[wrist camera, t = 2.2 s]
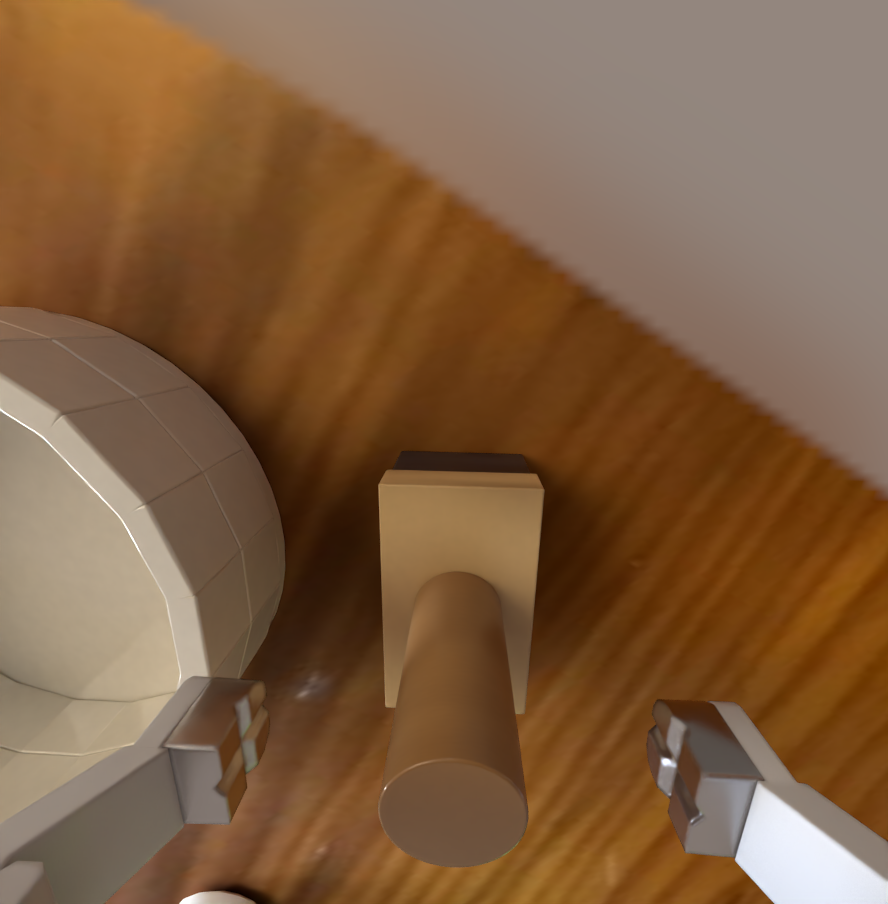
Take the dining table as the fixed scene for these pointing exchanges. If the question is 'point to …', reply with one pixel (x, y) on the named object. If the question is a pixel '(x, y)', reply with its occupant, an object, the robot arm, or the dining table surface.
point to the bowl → (116, 546)
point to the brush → (457, 650)
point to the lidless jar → (217, 898)
